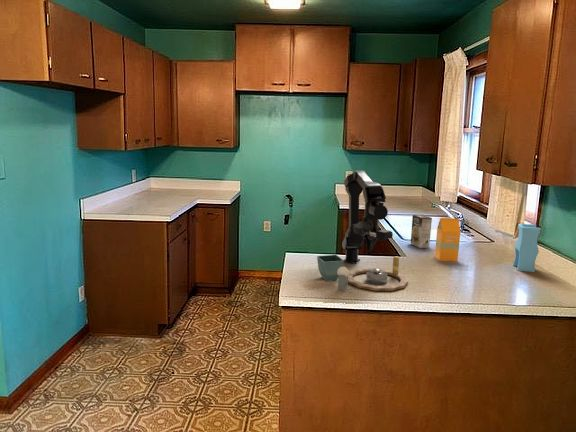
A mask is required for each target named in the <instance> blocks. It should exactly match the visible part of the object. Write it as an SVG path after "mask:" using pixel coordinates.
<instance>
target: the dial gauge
mask: <svg viewBox="0 0 576 432" xmlns="http://www.w3.org/2000/svg"><path fill="white" fill-rule="evenodd" d="M349 272H350V270H349V269H348V267H345V266H343V267H340V268H339V269H338V270H337V274H338V279H337V290H338V291H343V292H346V291H347V290H348V287H349V283H348V275H349Z"/></svg>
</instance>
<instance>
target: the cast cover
mask: <svg viewBox="0 0 576 432" xmlns="http://www.w3.org/2000/svg"><path fill="white" fill-rule="evenodd" d="M369 269H370V270H367V273H366V277H365V278H366V279H365V282H366V283H369V285H375V286H383V285H385V284H387V282H388V274H387V272H386V271H384V270H385V269H383V270H381V268H378V267H375V268H369Z"/></svg>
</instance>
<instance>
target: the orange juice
mask: <svg viewBox="0 0 576 432" xmlns="http://www.w3.org/2000/svg"><path fill="white" fill-rule="evenodd" d="M435 237H436V239H435V249H434V250H435V251H434V252H435V253H434V257H435V258H436V259H437V260H438V261H439V262H441V261H442V262H459V261H458V259H459V251H460V241H461V240H460V239H461V226H460V219H459V218H458V217H457V218H456V217H455V218H453V217H450V218H448V217H446V218H445V217H444V218H443V217H441V218H439V221H438V225H437V229H436V236H435Z"/></svg>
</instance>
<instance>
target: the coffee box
mask: <svg viewBox="0 0 576 432" xmlns="http://www.w3.org/2000/svg"><path fill="white" fill-rule="evenodd" d="M432 221H433V218H432V217H430V216H428V215H425V214H412V221H411V234H410V235H411V236H410V244H411V245H413V246H415V247H417V248H418V249H422V248H430V243H431V233H432Z"/></svg>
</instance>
